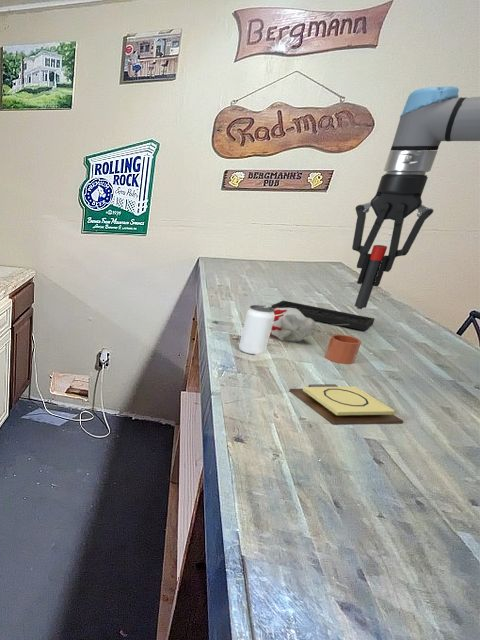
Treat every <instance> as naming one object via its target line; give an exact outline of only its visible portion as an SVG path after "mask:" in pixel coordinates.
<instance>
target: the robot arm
mask: <svg viewBox="0 0 480 640" xmlns="http://www.w3.org/2000/svg"><path fill="white" fill-rule="evenodd" d="M459 91H460V89H459V87H458V86H451V85H450V86H448V85H447V86H431V87H422V88H418V89H415V90H413V91H412V92H411V93H409V95H408V97H407V99H406V101H405V105H404V107H403V110H402V112H401V114H400V116H399V120H398V125H397V128H396V132H395V135H394V138H393V141H392V144H391V148H390V150H389V153H388V156H387V159H386V163H385V165H384V167H383V171H384V172H386V173H384V174H383V175H382V176H381V177H380V179H379V180H380V181H379V184H378V187H377V190H376V192H375V195H374V196H373V198H371V200H370V201H369V202H366V203H361V204H358V205H356V206H355V213H356V216H357V217H356V222H355V223H356V224H355V229H354V235H353V241H352V248H351V249H352V250H353V251H355V252H358V253H359V257H358V260H357V263H356V269H360V273H359V276H358V278H357V282H356V284H357V285H361V284H362V281H363V278H364V275H365V272H366V269H367V266H368V263H369V260H370V256H371V253H369V252H370V251H371V248H372V247H373V244H374V242H375V240H376V238H377V236H378V234H379V232H380V230H381V228H382V226H383V224H384V222H385V220H391V221H394V222H393V229H392V234H391V240H390V243H389V244H390V245H389V249H388V254H387V255H386V254H385V255H384V257H383V259H382V262H381V265H380V268H379V271H378V274H377V277H376V280H375V283H374V286H373V287H379V286H380V284H381V281H382V278H383V276H384V272H386V273H389V272H390V271H391V270H392V268H393V265H394V262H395V259H396V258H397V257H404V256H406V255H407V254H408V253H409V252H410V249H412V246H413V244H414V242H415V240H416V239H417V236H418V235H419V232H420V231H421V228H422V227H423V225H424V223H425V222H426V220H427V219H428V218H429V217H430V216H431V215H432V214H434V211H435V210H434V208H432V207H431V208H430V207H427V206H425V205H423V200H422V195H423V192H424V189H425V187H426V183H427V181H428V178H429V177H428V175H427V174H426V173H429V172H430V171H431V170H432V167H433V164H434V162H435V160H436V156H437V154H438V150H439V148H440V145H441V142H480V96H473V97H467V96H466V97H462V96H461V97H459V96H460V95H459ZM370 208H372V210H373V212H374V214H375V216H376V218H375V220H374V223H373V224H372V227H371V229H370V231H369V233H368V235H367V238H366V240H365V242H364V244H363V245H362V242H363V235H364V229H365V224H366V219H367V214H368V212H370ZM416 210H417V213H416V217H418V218H417V219H416V221H415V223H414V225H413V227H412V228H411V229H410V232H409V234H408V236H407V238H406V239H405V242H404V243H403V245H402V248H401V249H399V245H400V240H401V235H402V231H403V226H404V222H405V221H404V220H405V218H407V217H408V216H410V215H411V214H412V213H414V212H415V211H416Z"/></svg>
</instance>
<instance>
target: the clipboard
mask: <svg viewBox="0 0 480 640" xmlns="http://www.w3.org/2000/svg"><path fill="white" fill-rule="evenodd" d="M307 387H340V386H339V385H337V384H335V383H328V384H326V383H324V384H323V383H322V384H320V383H319V384H316V383H315V384H312V383H311V384H308V386H307ZM289 392H290V393H291V394H292V395H293V396H296V397H297V398H298V399H299V400H300V401H302V402H303V403H304V404H305V405H307V406H308V407H310V408H311V409H312V410H313V411H315V412H316V413H317V414H318V415H320V416H321V417H323V418H324V419H325V420H327V422H329V423H331V425H383V424H384V425H385V424H386V425H389V424H391V425H392V424H393V425H394V424H403V423H404V420H403V419H401V418H399V417H398V416H397V415H395V414H394V415H336V414H334V413H333V412H331V411H330V410H329V409H327V408H326V407H325V406H323V405H322V404H321V403H319V402H318V401H316V400H315V399H314V398H312V397H311V396H310V395H308V394H307V393H306V392H304V391H303V388H289Z"/></svg>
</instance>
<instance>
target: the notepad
mask: <svg viewBox="0 0 480 640" xmlns="http://www.w3.org/2000/svg"><path fill="white" fill-rule="evenodd" d="M302 389H303V391H304V392H306V393H307V394H308V395H310V396H311V397H312V398H314V399H315V400H316V401H318V402H319V403H321V404H322V405H323V406H325V407H326V408H327V409H329V410H330V411H331V412H333V413H334V414H336V415H395V413H396V410H394V409H393V408H391V407H390V406H388V405H386V404H385V403H383V402H381V401H379V399H377V398H375V397H373V396H372V395H370V394H368V393H366V392H365V391H363V390H362V389H361V388H359V387H357V386H339V387H308V386H303V387H302Z"/></svg>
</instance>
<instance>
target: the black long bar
mask: <svg viewBox="0 0 480 640" xmlns="http://www.w3.org/2000/svg"><path fill="white" fill-rule="evenodd" d="M270 307H271V308H273V309H274V308H277V307H278V308H296V309H298V310H299V311H300V312H301V313H302V314H303V315H304V316H305V317H307V318H311V319H312V320H314V321H318V322H322V323H326V324H328V326H340V327H346V328H350V329H355V330H360V331H367V329H369V328H370V327H371V326H372V325H374V322H375V318H374V317H369V316H364V315H359V314H354V313H350V312H344V311H339V310H334V309H331V307H329V308H323V307H318V306H313V305H310V304H309V305H308V304H303V303H298V302H293V301H287V300H281V301H278V302H276V303H274V304H271V306H270ZM326 324H323V327H324V326H326ZM315 326H316V327H320V325H319V324H318V325H315Z"/></svg>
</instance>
